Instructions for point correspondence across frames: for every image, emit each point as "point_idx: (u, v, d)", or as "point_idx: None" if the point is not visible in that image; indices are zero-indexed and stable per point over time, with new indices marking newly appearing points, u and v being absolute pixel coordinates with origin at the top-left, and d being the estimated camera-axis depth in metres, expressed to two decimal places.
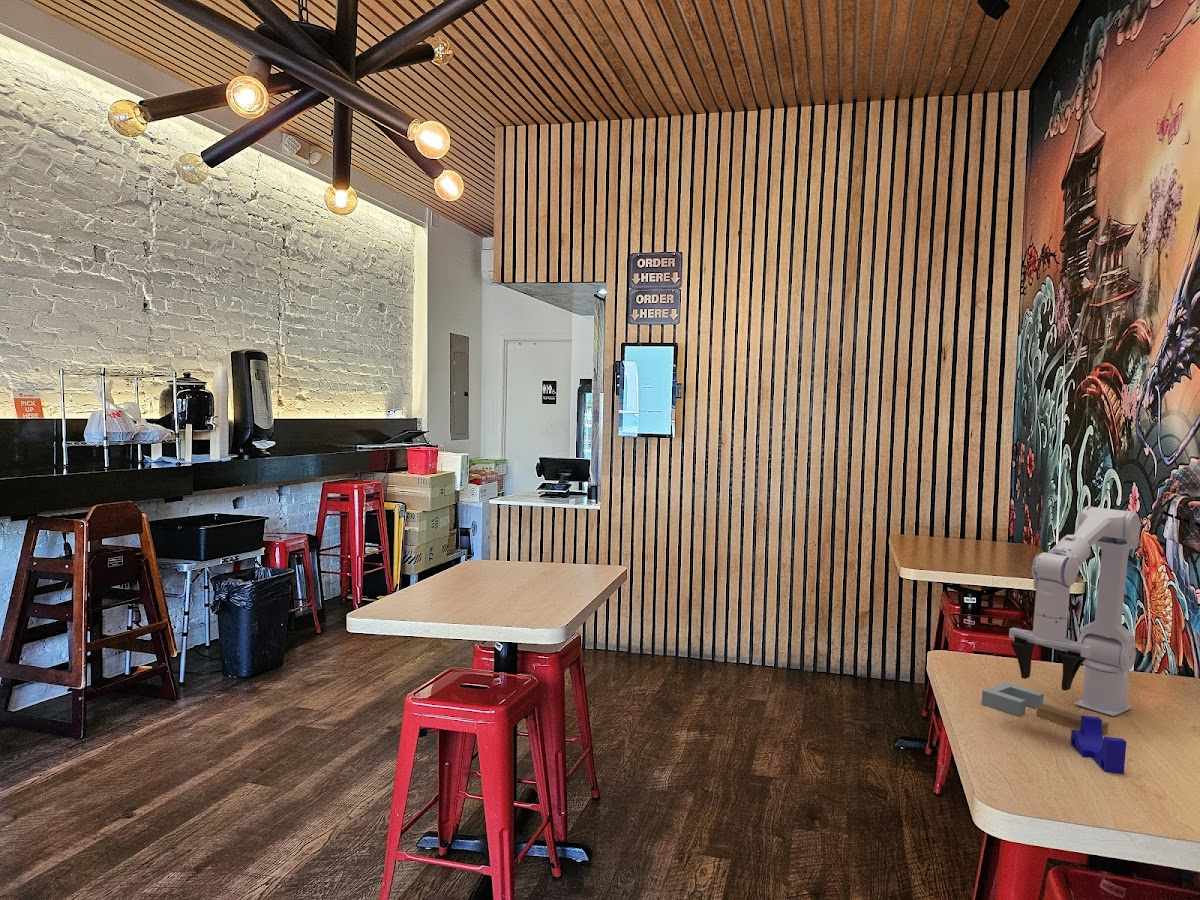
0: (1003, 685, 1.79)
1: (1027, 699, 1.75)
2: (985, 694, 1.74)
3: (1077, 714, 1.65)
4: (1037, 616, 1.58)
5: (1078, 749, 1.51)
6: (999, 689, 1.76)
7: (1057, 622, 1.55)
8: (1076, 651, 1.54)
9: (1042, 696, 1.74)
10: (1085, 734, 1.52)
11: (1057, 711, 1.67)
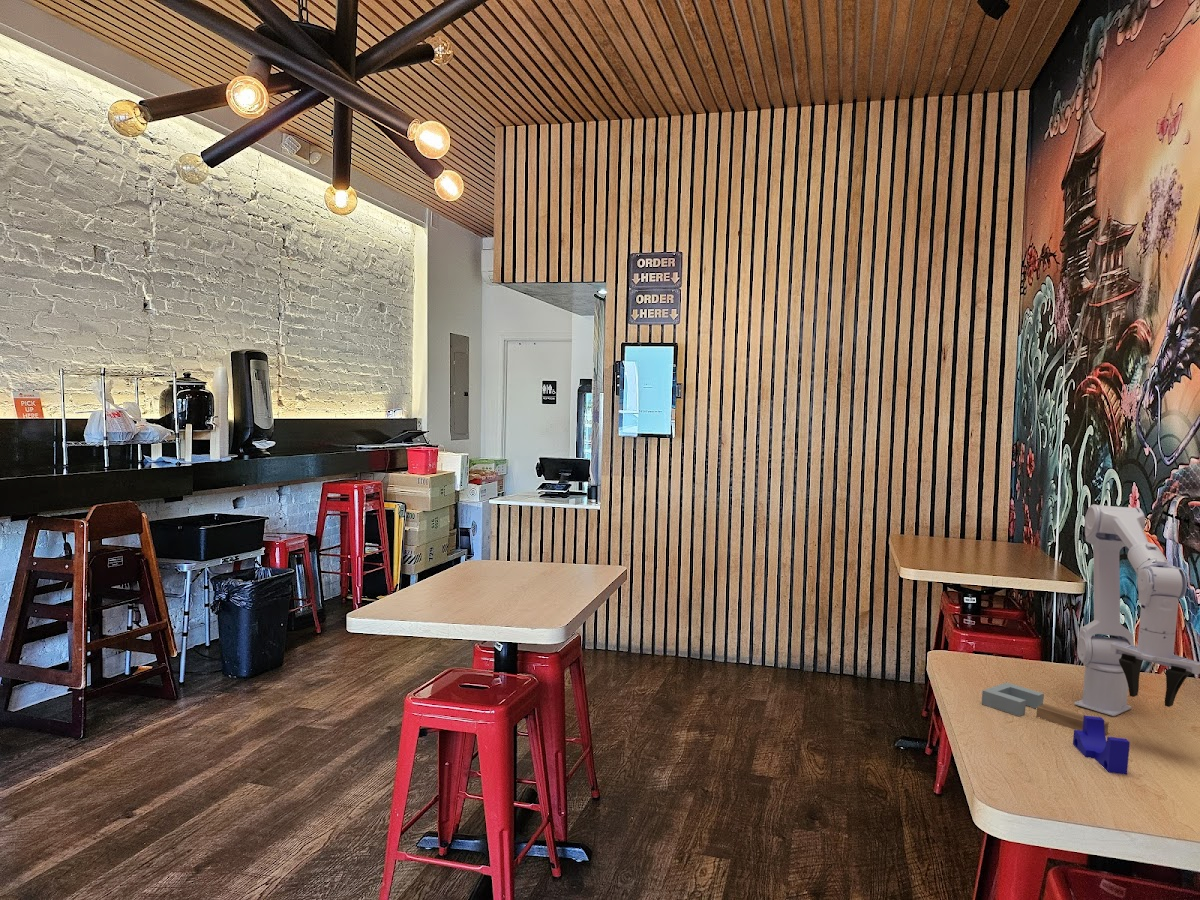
0: (1003, 685, 1.79)
1: (1027, 699, 1.75)
2: (985, 694, 1.74)
3: (1077, 714, 1.65)
4: (1143, 631, 1.53)
5: (1081, 749, 1.51)
6: (999, 689, 1.76)
7: (1165, 637, 1.51)
8: (1186, 668, 1.49)
9: (1042, 696, 1.74)
10: (1088, 734, 1.52)
11: (1057, 711, 1.66)
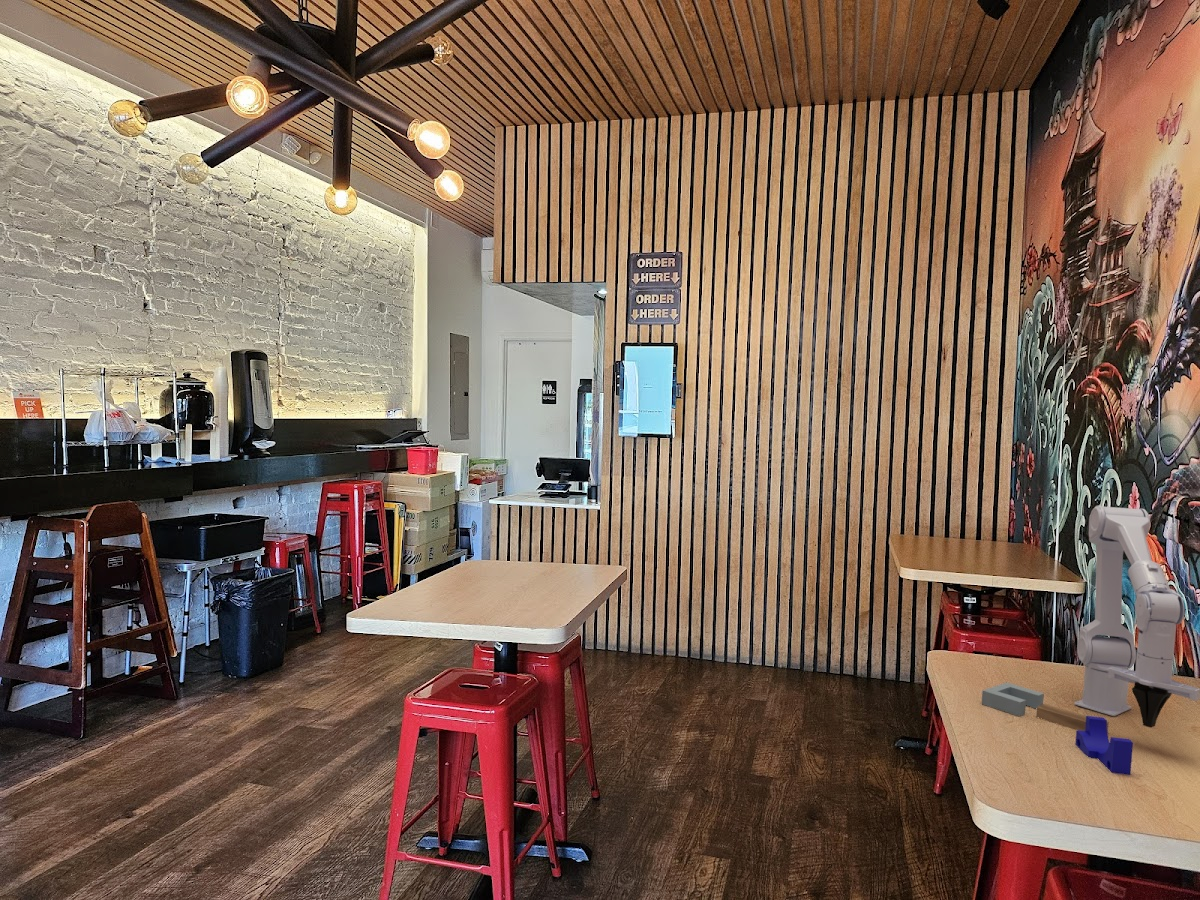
0: (1003, 685, 1.79)
1: (1027, 699, 1.75)
2: (985, 694, 1.74)
3: (1077, 714, 1.65)
4: (1141, 656, 1.53)
5: (1084, 750, 1.51)
6: (999, 689, 1.76)
7: (1163, 663, 1.51)
8: (1184, 693, 1.49)
9: (1042, 696, 1.74)
10: (1090, 735, 1.52)
11: (1057, 711, 1.66)
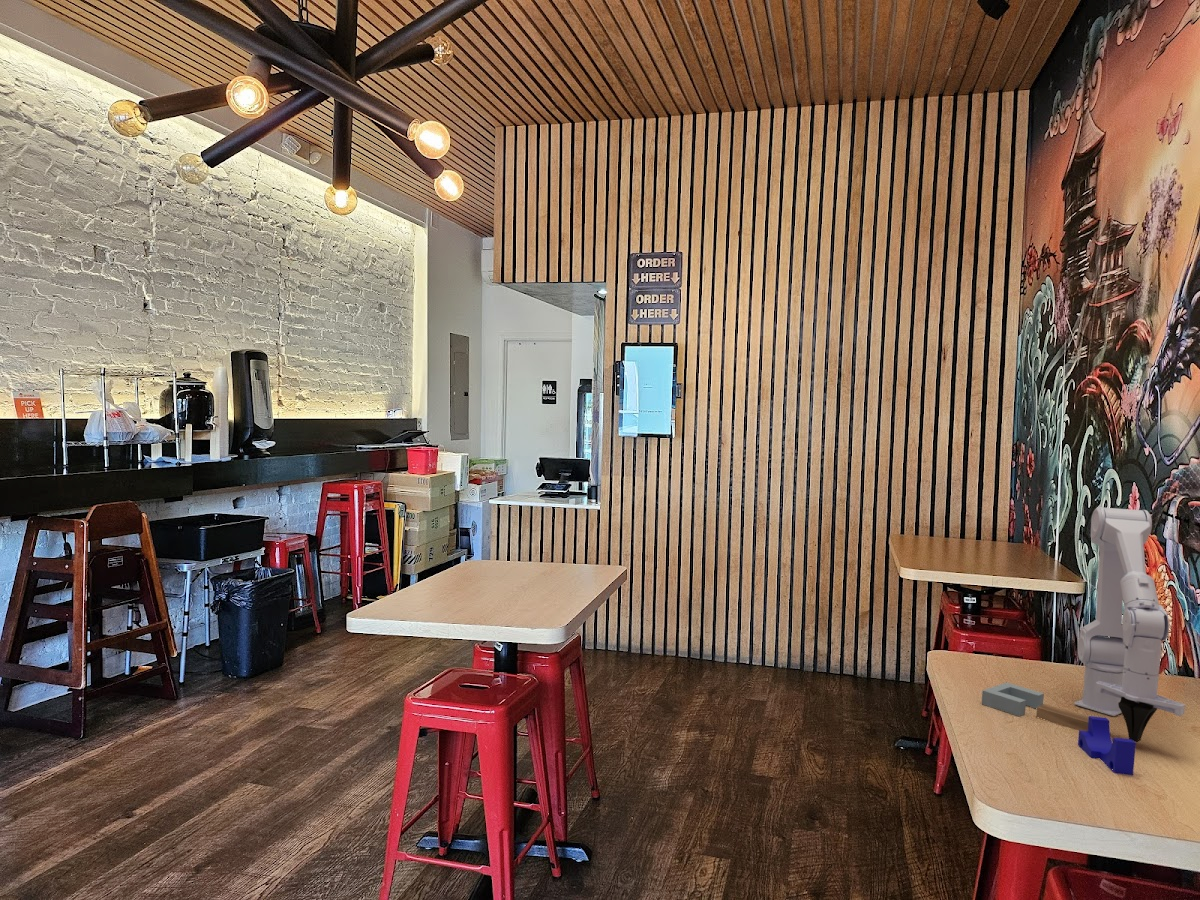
0: (1003, 685, 1.79)
1: (1027, 699, 1.75)
2: (985, 694, 1.74)
3: (1077, 714, 1.65)
4: (1127, 672, 1.55)
5: (1086, 750, 1.51)
6: (999, 689, 1.76)
7: (1149, 679, 1.53)
8: (1169, 709, 1.51)
9: (1042, 696, 1.74)
10: (1093, 735, 1.52)
11: (1057, 711, 1.66)
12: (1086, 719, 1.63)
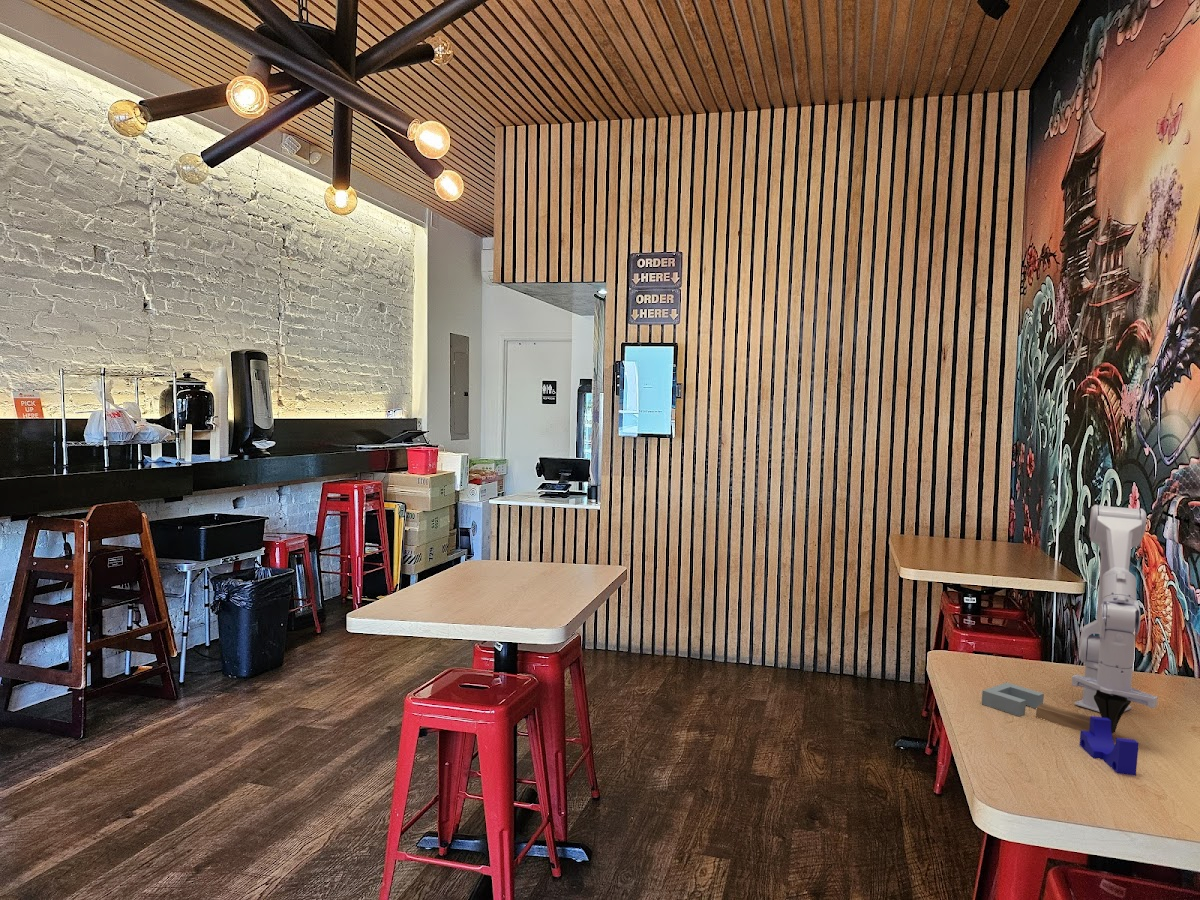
0: (1003, 685, 1.79)
1: (1027, 699, 1.75)
2: (985, 694, 1.74)
3: (1076, 713, 1.66)
4: (1102, 665, 1.58)
5: (1088, 750, 1.51)
6: (999, 689, 1.76)
7: (1123, 672, 1.56)
8: (1142, 701, 1.55)
9: (1042, 696, 1.74)
10: (1095, 735, 1.52)
11: (1057, 711, 1.66)
12: (1086, 719, 1.63)
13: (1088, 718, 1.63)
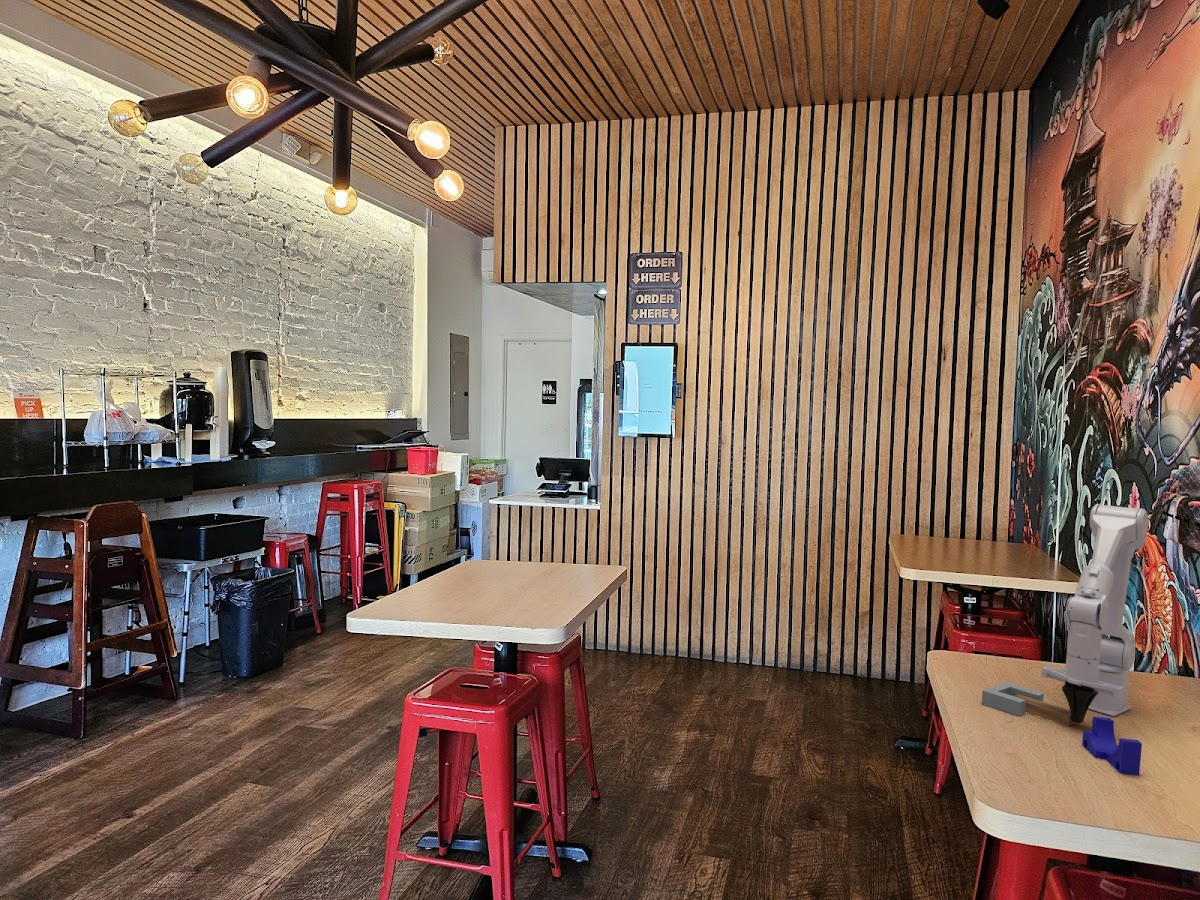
0: (1003, 685, 1.79)
1: None
2: (985, 694, 1.74)
3: (1048, 704, 1.70)
4: (1070, 657, 1.63)
5: (1091, 750, 1.51)
6: (999, 689, 1.76)
7: (1090, 663, 1.61)
8: (1108, 691, 1.59)
9: (1042, 696, 1.74)
10: (1097, 735, 1.52)
11: (1029, 701, 1.71)
12: (1056, 709, 1.68)
13: (1058, 708, 1.68)
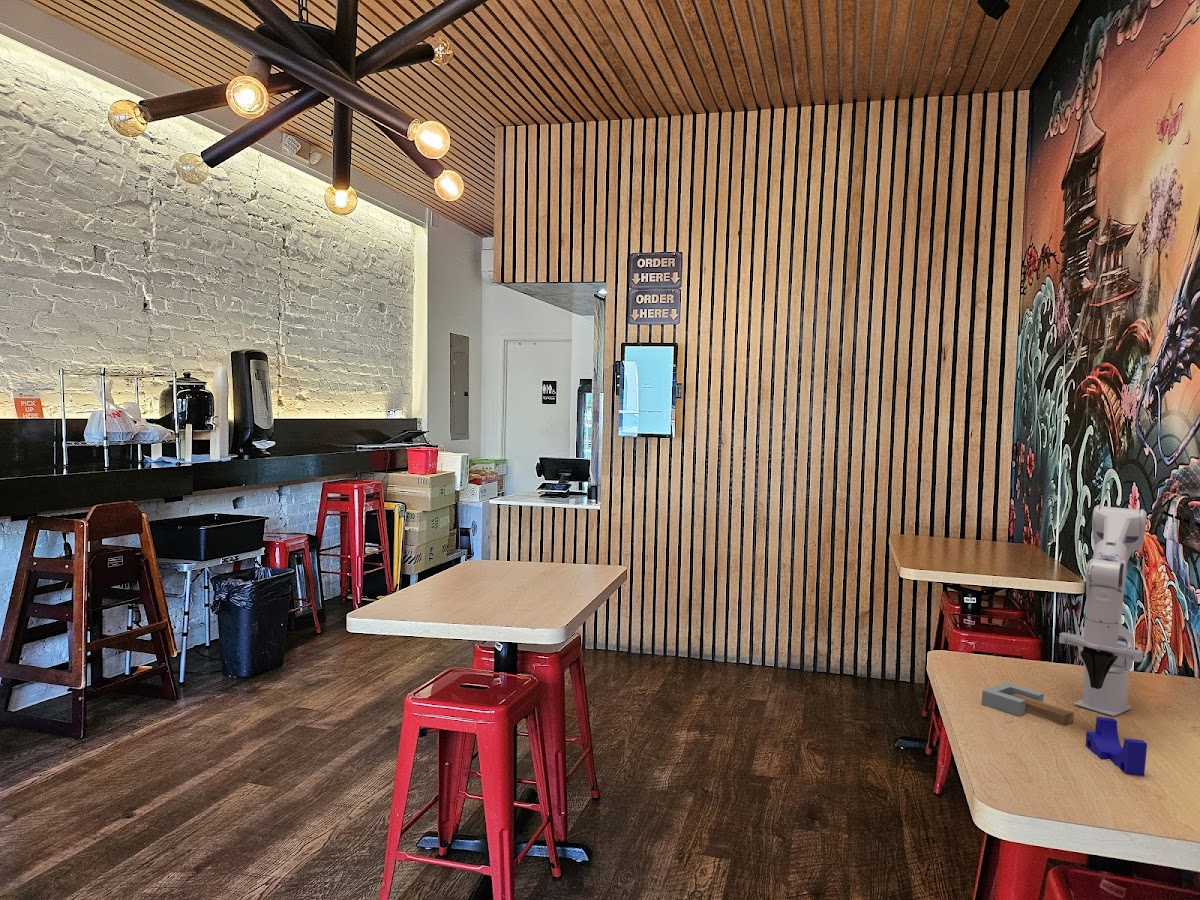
0: (1003, 685, 1.79)
1: None
2: (985, 694, 1.74)
3: (1045, 704, 1.71)
4: (1089, 621, 1.60)
5: (1095, 751, 1.51)
6: (999, 689, 1.76)
7: (1109, 627, 1.58)
8: (1128, 656, 1.57)
9: (1042, 696, 1.74)
10: (1101, 735, 1.52)
11: None
12: (1052, 708, 1.68)
13: (1054, 708, 1.68)
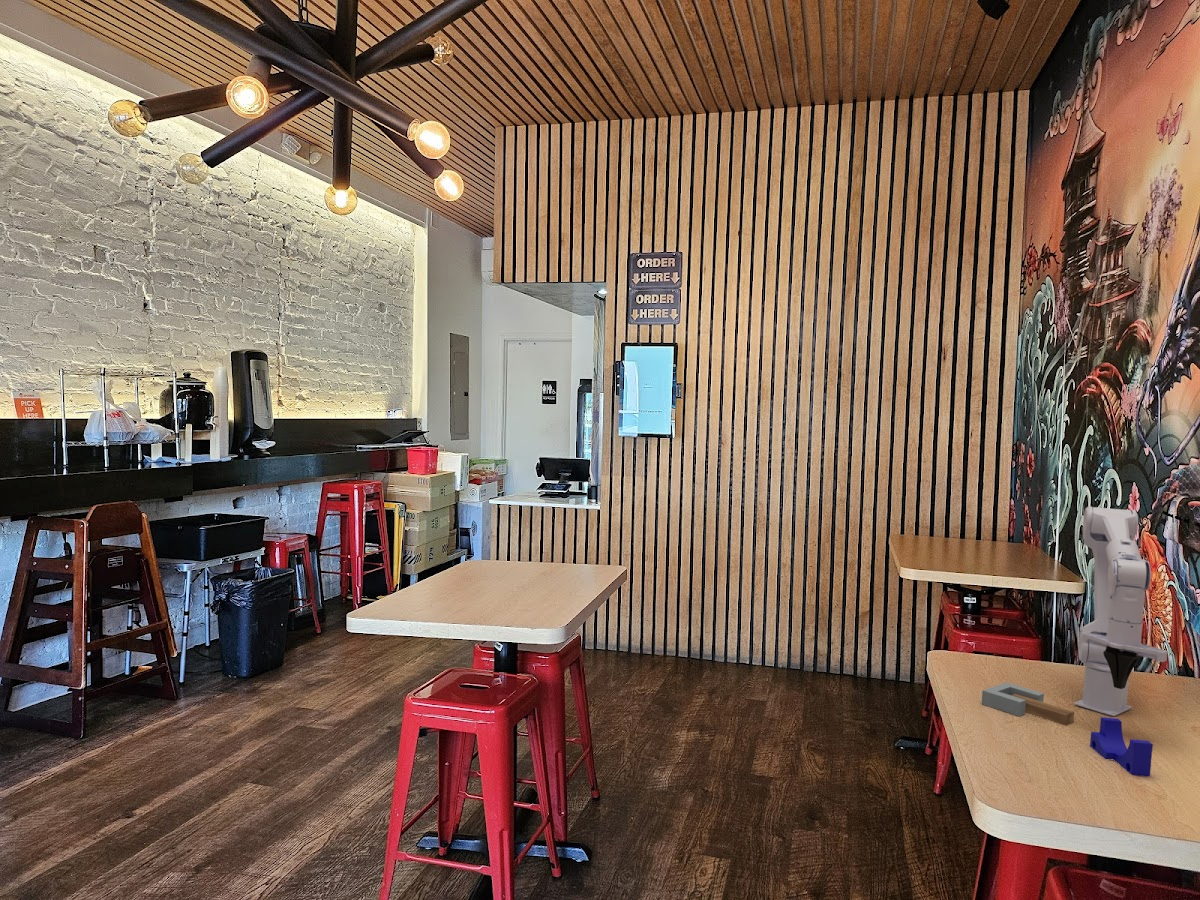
0: (1003, 685, 1.79)
1: None
2: (985, 694, 1.74)
3: (1044, 703, 1.71)
4: (1112, 621, 1.60)
5: (1100, 751, 1.50)
6: (999, 689, 1.76)
7: (1132, 627, 1.58)
8: (1152, 656, 1.56)
9: (1042, 696, 1.74)
10: (1106, 736, 1.52)
11: None
12: (1052, 708, 1.68)
13: (1055, 708, 1.68)
